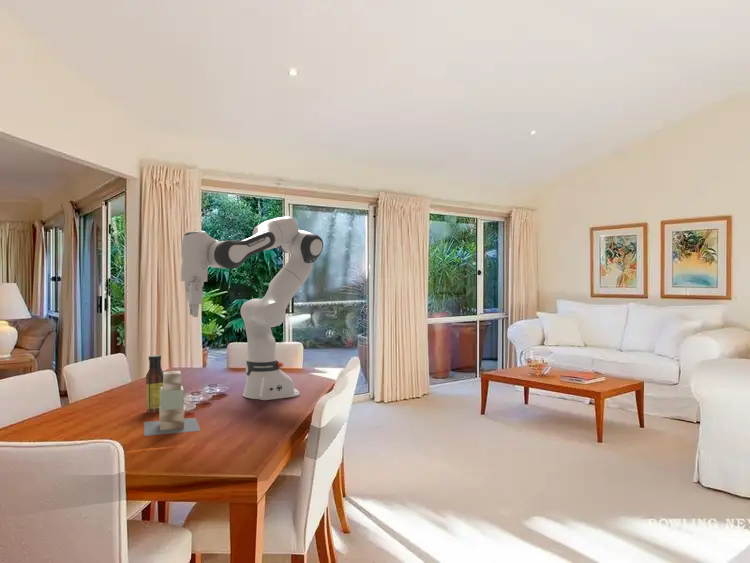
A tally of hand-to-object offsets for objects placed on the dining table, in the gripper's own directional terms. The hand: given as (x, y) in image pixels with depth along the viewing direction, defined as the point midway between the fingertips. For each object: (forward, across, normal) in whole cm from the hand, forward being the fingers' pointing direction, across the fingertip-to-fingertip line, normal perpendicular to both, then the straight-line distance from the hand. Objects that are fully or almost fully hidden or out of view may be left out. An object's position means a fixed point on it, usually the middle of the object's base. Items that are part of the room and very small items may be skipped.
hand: (193, 315), depth 190 cm
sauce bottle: (+34, +5, +12) cm, 37 cm away
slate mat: (+34, -18, +8) cm, 39 cm away
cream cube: (+22, -18, +8) cm, 29 cm away
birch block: (+34, -18, +8) cm, 39 cm away
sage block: (+28, -18, +8) cm, 34 cm away
